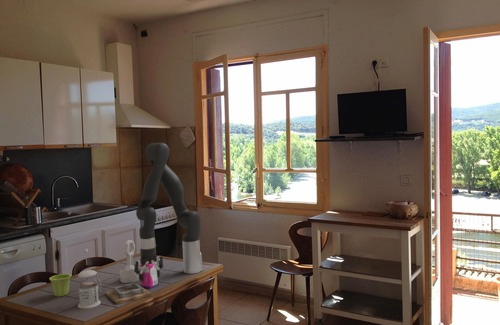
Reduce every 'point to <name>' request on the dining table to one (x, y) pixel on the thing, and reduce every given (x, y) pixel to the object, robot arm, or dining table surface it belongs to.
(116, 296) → the wooden board with frame
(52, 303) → the dining table surface
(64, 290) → the plant pot
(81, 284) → the french press
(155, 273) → the supplement box
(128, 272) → the engine component
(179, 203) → the robot arm
